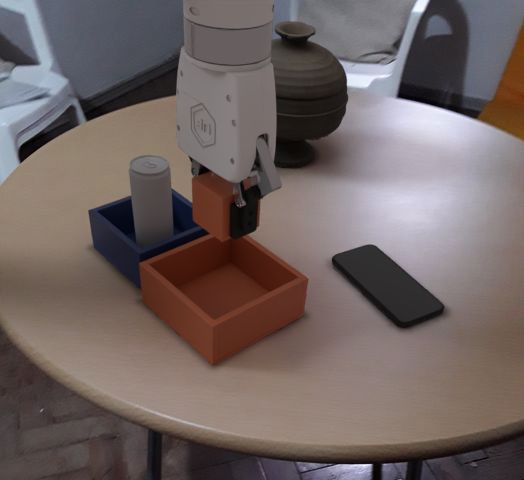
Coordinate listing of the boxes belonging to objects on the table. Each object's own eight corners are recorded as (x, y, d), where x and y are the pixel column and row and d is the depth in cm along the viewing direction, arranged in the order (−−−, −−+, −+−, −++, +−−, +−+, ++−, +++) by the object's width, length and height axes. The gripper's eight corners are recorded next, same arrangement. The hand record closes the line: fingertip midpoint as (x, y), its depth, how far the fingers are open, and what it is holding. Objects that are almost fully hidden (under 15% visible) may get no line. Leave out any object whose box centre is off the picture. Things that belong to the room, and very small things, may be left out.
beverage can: (156, 265, 79) (149, 178, 71) (128, 250, 81) (119, 164, 73) (182, 248, 82) (178, 163, 74) (155, 234, 84) (149, 150, 75)
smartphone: (402, 325, 73) (328, 255, 82) (400, 331, 74) (327, 261, 82) (449, 307, 76) (372, 241, 85) (447, 313, 77) (371, 247, 85)
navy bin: (143, 292, 76) (139, 254, 72) (93, 247, 82) (87, 210, 78) (218, 258, 82) (219, 221, 78) (167, 219, 88) (165, 183, 84)
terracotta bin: (212, 365, 68) (212, 327, 64) (142, 301, 75) (138, 262, 71) (303, 315, 74) (308, 278, 71) (231, 261, 81) (232, 224, 78)
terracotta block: (222, 242, 64) (222, 198, 60) (192, 220, 66) (191, 177, 63) (259, 226, 66) (261, 183, 63) (229, 206, 69) (230, 164, 66)
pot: (333, 186, 96) (340, 45, 82) (221, 174, 100) (212, 38, 86) (352, 140, 109) (362, 12, 95) (253, 131, 112) (249, 7, 99)
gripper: (135, 18, 56) (150, 199, 69) (260, 80, 47) (250, 274, 60) (203, 6, 60) (205, 179, 73) (329, 60, 51) (307, 247, 64)
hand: (225, 220), depth 66 cm, fingers closed on terracotta block, 5 cm apart
